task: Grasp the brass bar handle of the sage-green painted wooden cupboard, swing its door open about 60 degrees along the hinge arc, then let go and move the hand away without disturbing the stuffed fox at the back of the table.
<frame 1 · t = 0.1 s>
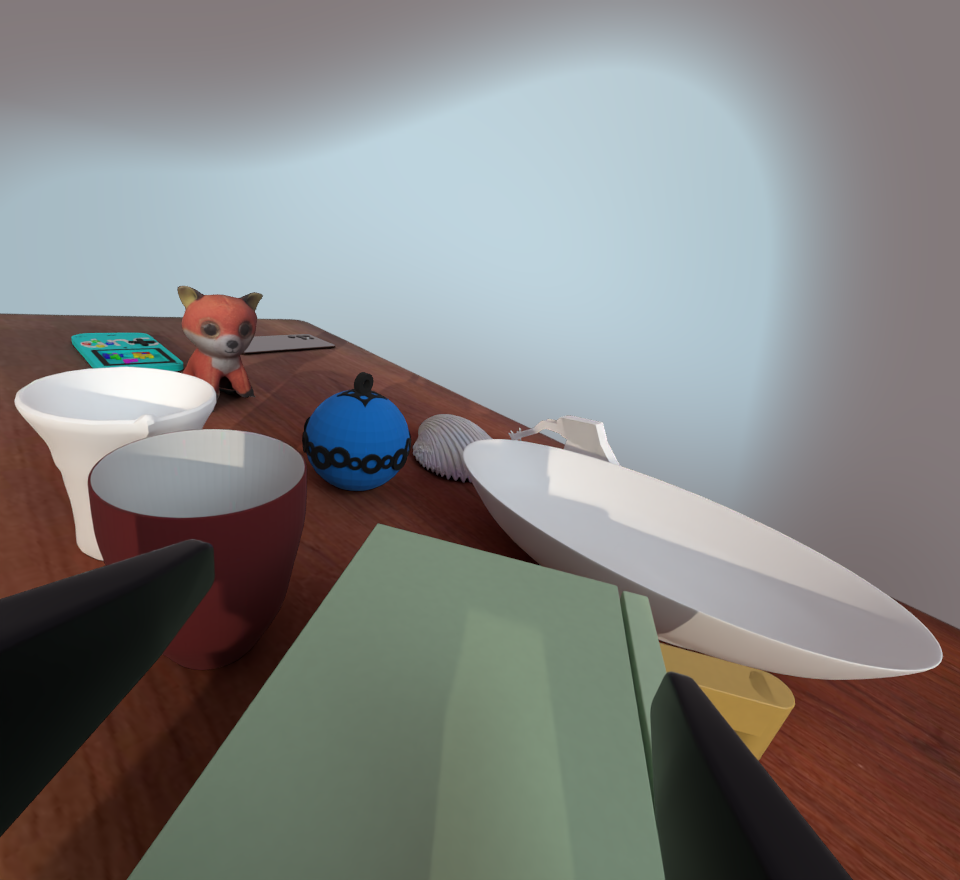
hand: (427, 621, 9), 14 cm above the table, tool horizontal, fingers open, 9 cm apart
cup: (142, 538, 30), on the table
ornament: (354, 487, 40), on the table
mug: (201, 628, 24), on the table
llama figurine: (582, 498, 46), on the table
smartphone: (279, 345, 74), on the table
handheld gaming console: (126, 356, 58), on the table
stuffed fox: (217, 397, 52), on the table
seashell: (457, 459, 48), on the table
bowl: (627, 596, 33), on the table
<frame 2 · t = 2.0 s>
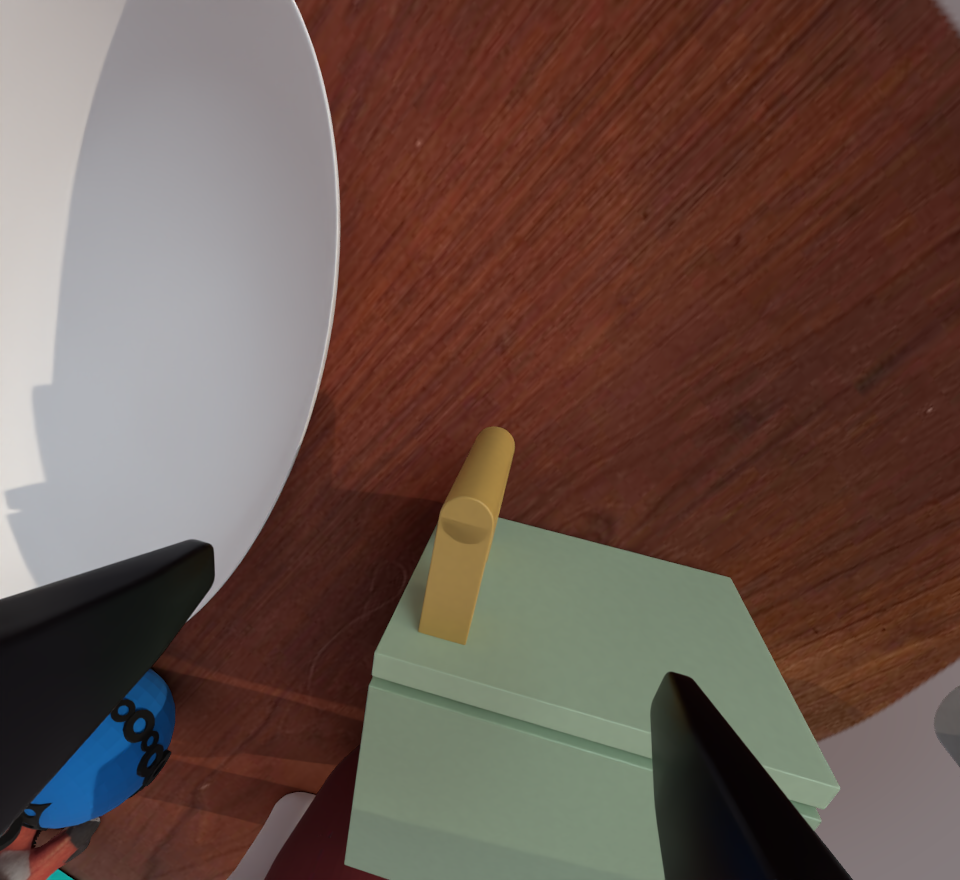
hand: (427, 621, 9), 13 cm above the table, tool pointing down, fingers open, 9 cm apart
cup: (311, 808, 34), on the table
ornament: (153, 676, 32), on the table
mug: (388, 759, 31), on the table
stuffed fox: (59, 810, 41), on the table
door: (606, 561, 17), point 5 cm above the table, hinge at 0.0°
cupboard: (552, 635, 24), on the table
bowl: (209, 369, 22), on the table
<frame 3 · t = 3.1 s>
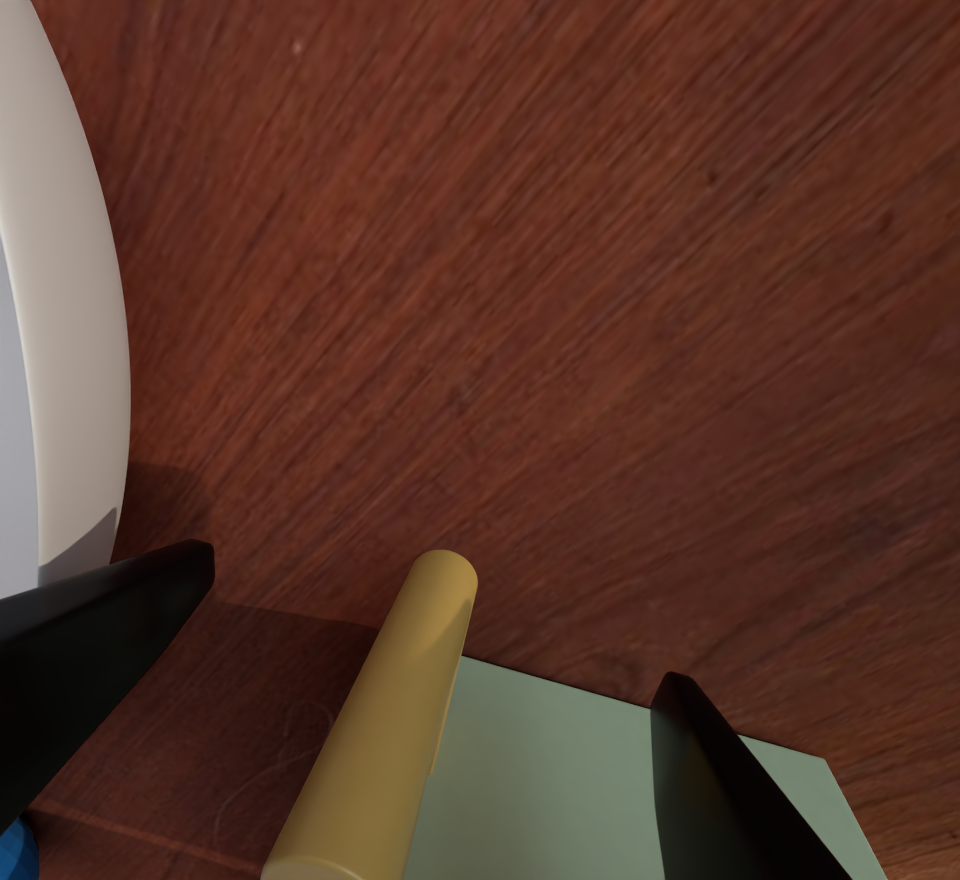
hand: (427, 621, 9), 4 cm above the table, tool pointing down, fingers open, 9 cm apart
ornament: (18, 812, 24), on the table
door: (641, 821, 9), point 5 cm above the table, hinge at 0.0°
bowl: (18, 428, 15), on the table
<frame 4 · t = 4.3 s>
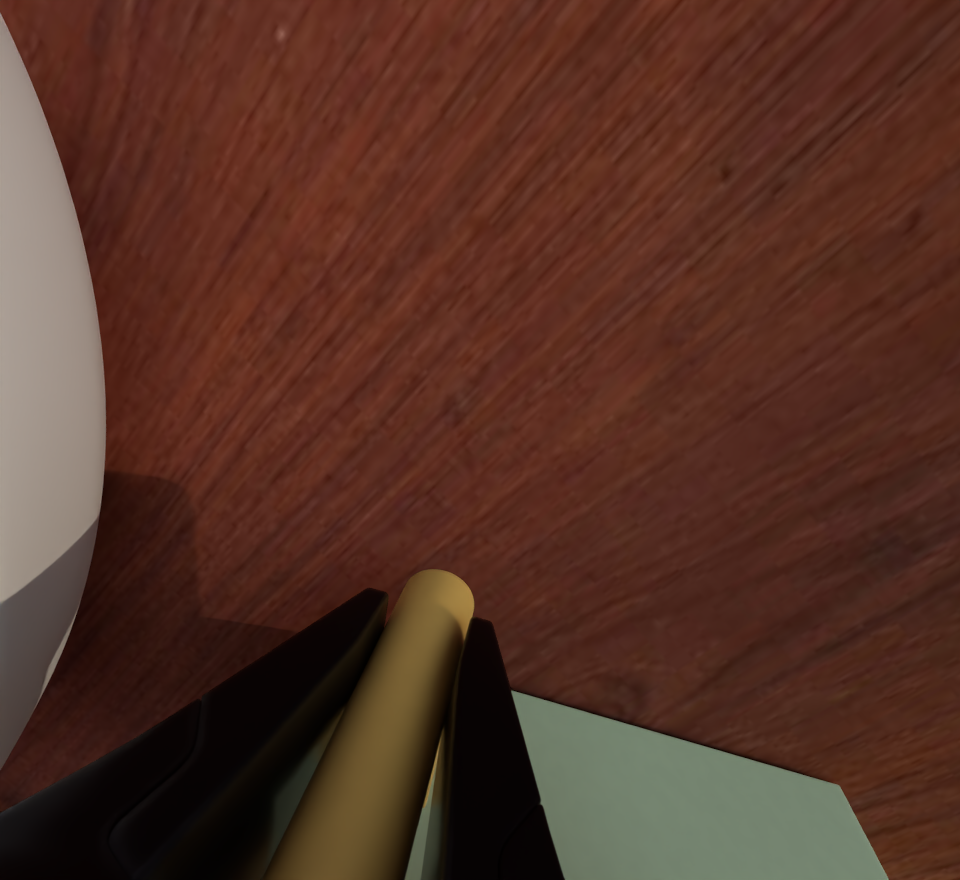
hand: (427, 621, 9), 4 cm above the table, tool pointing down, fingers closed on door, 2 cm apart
door: (649, 865, 8), point 5 cm above the table, hinge at 0.0°, touching gripper
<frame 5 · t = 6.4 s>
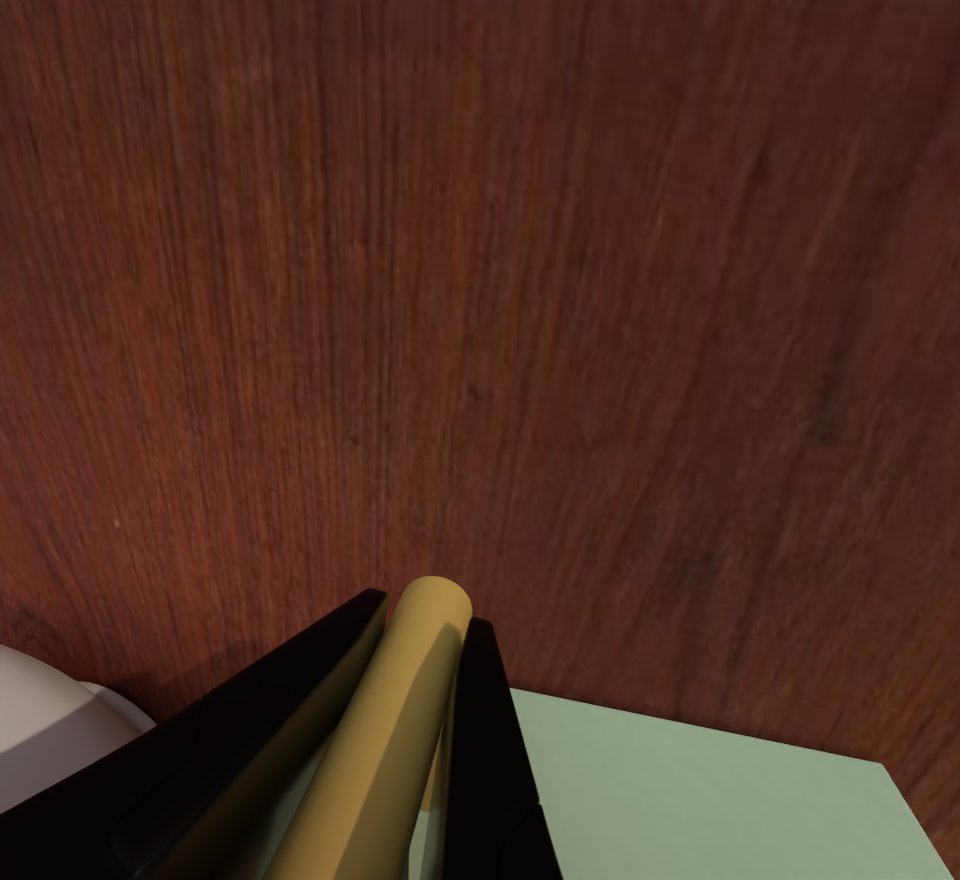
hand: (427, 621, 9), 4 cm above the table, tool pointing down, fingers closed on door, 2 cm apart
door: (670, 858, 8), point 5 cm above the table, hinge at 32.1°, touching gripper
bowl: (154, 794, 20), on the table
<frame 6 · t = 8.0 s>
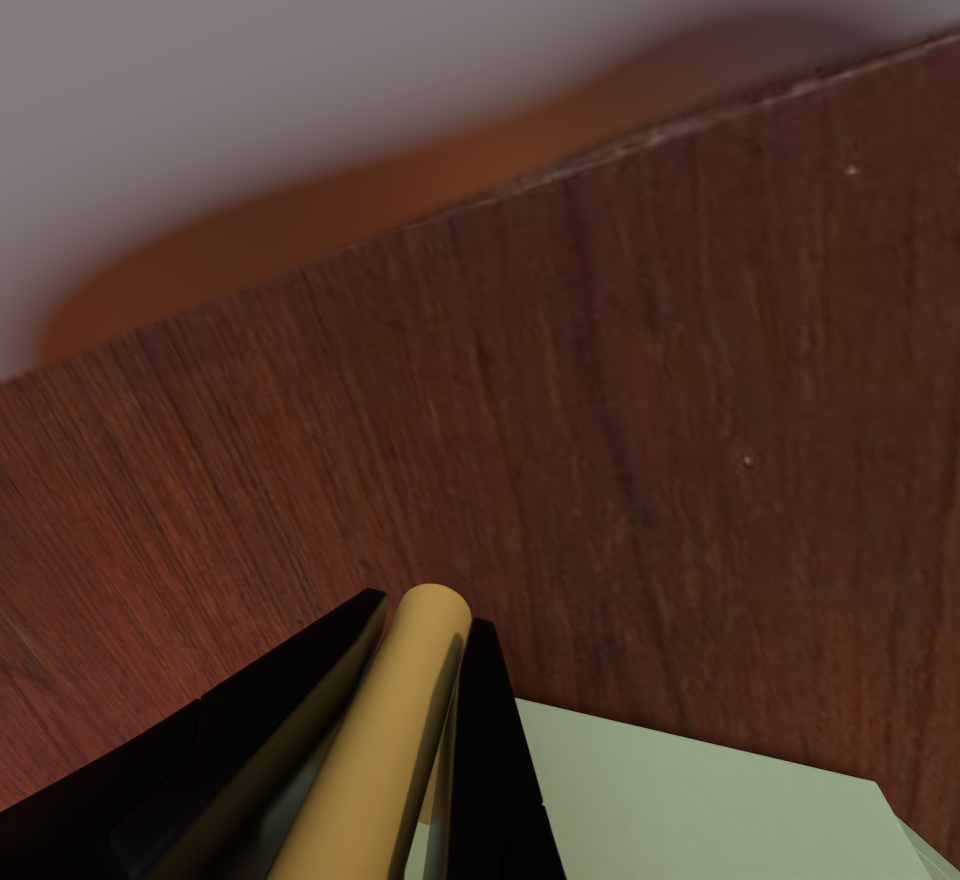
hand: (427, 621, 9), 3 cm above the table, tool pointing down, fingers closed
door: (666, 878, 8), point 5 cm above the table, hinge at 55.1°
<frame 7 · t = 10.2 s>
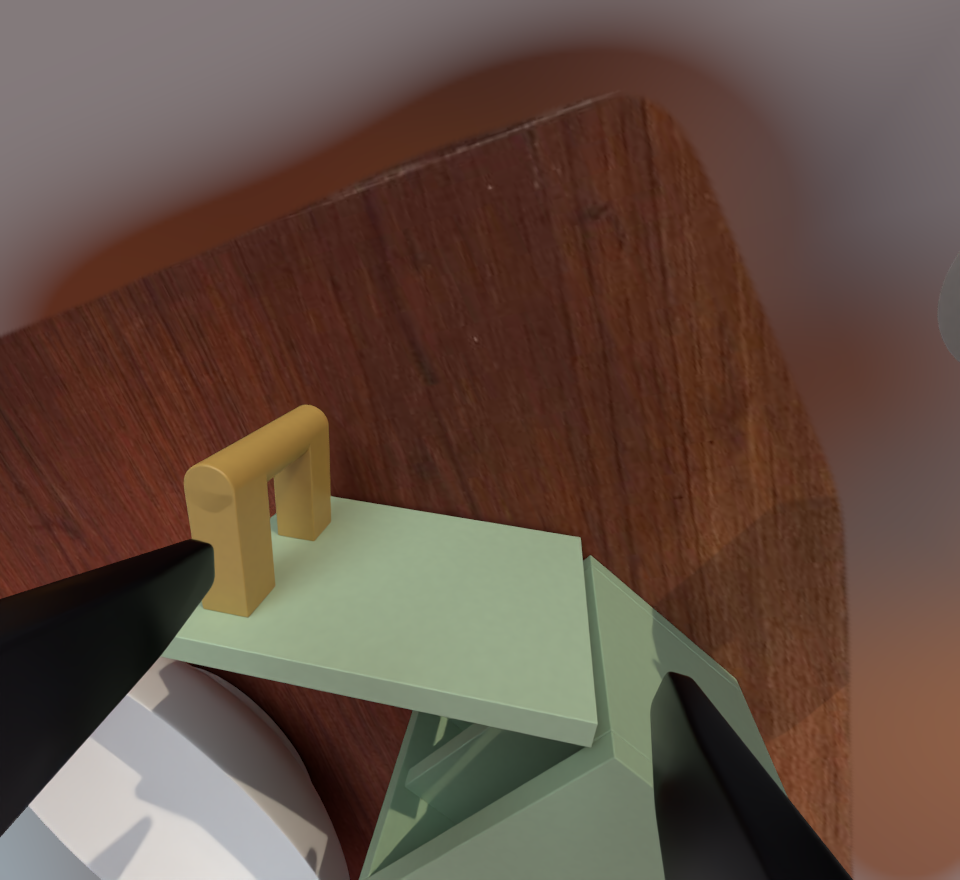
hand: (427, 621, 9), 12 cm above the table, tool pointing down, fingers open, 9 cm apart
door: (409, 525, 17), point 5 cm above the table, hinge at 55.1°
cupboard: (565, 687, 25), on the table
bowl: (247, 738, 31), on the table
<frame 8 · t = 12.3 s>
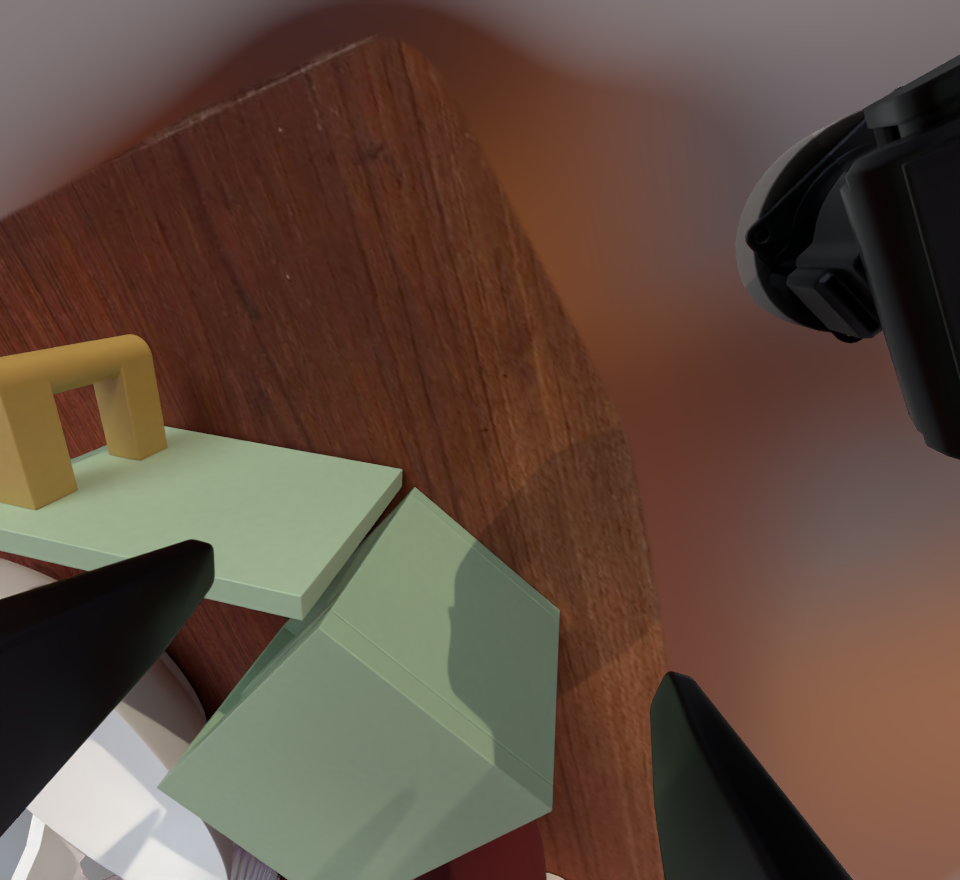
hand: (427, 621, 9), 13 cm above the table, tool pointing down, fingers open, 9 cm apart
mug: (505, 801, 31), on the table
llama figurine: (114, 762, 38), on the table
door: (203, 440, 19), point 5 cm above the table, hinge at 55.1°
cupboard: (411, 617, 26), on the table
seashell: (233, 858, 41), on the table
bowl: (145, 668, 33), on the table
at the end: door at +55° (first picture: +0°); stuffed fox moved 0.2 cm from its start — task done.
